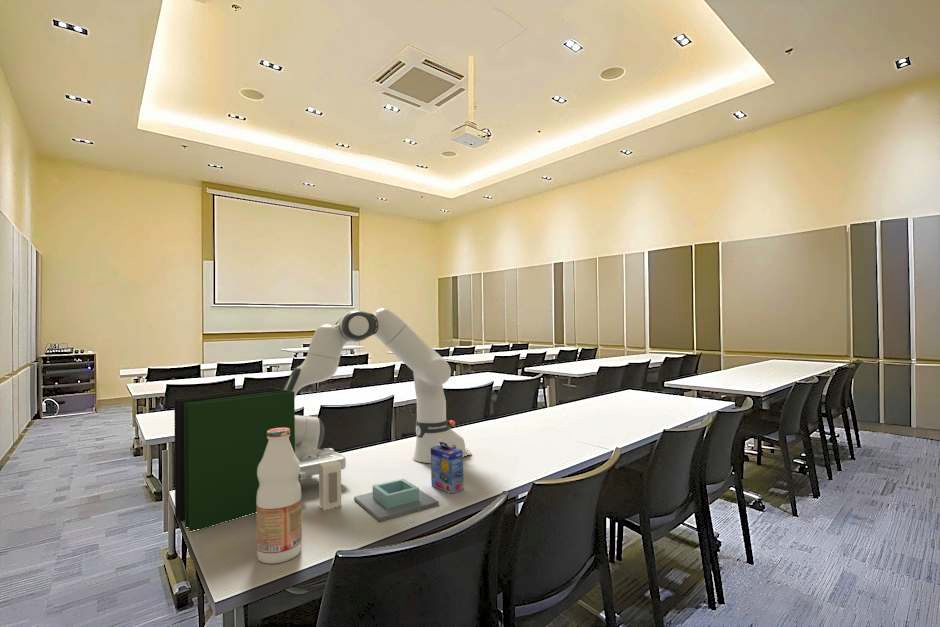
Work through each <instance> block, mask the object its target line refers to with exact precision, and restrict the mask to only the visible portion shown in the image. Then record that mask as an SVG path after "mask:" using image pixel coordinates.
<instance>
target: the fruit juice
mask: <svg viewBox="0 0 940 627" xmlns="http://www.w3.org/2000/svg"><path fill="white" fill-rule="evenodd" d="M289 436H290V429H289V428H274V429H270V430H268V431H267V439H268V443H267V446H266V449H265V452H264V455H263V458H262V460H261V462H260V463H259V465H258V468H257V477H258V481H259V488H258V490H257V497H256V510H257V513H256V557H257V560H258V561H259V562H260V563H263V564H270V565H271V564H273V565H275V564H280V563H285V562H287V561H290V560H292V559H294V558H295V557H297V556H298V555H299V554H300V553H301V550H302V545H303V544H302V541H303V540H302V537H303V532H302V530H303V529H302V487H301V484H300V481H299V479H298V477H299V473H300V462H299V460H298V458H297V457H296V455H295V453H294V451H293V448H292V446H291V443H290V441H289Z"/></svg>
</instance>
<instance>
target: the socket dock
mask: <svg viewBox="0 0 940 627" xmlns="http://www.w3.org/2000/svg"><path fill="white" fill-rule="evenodd" d="M353 500H354V501H355V502H356V501H357V502H358V503H359V504H360V505H361V506H360V505H359V504H358V503H357V502H356V503H357V504H358V505H359V506H360V507H362V508H363V510H365V509H366V510H367V511H368V513H369V515H371V516H372V517H373V518H374V519H376V520H377V521H378V522H383V521H386V520H387V521H388V520H390V519H394V518H398V517H401V516H404V515H407V514H412V513H415V512H419V511H422V510H426V509H429V508H434V507H437V506H439V504H440V502H439V501H438V500H437V499H435V498H434V497H432V496H431V495H429V494H428V493H425V492H424V491H422V490H421V489H420V487H419V486H416V485H415V484H413V483H412V482H410V481H408V480H407V479H405V478H400V479H395V480H391V481H386V482H383V483H382V482H381V483H377V484H374V485H372V491H371V492H367V493H364V494H358V495H356V496H354V497H353ZM366 510H365V511H366ZM367 511H366V512H367Z"/></svg>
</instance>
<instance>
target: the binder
mask: <svg viewBox="0 0 940 627" xmlns="http://www.w3.org/2000/svg"><path fill="white" fill-rule="evenodd" d="M173 401H174V410H173V411H174V519H178V522H179V523H182V522H184V526H185V527H184V529H185V528H186V527H189V528H188V530H189V531H193V530H197V529H201V530H203V529H202V528H204V529H206V528H205V527H208V528H210V527H209V526H211V527H213V526H212V525H214V526H217V525H216V524H218V525H220V524H219V523H221V522H224V523H226V522H225V521H228V522H230V521H229V520H231V521H233V520H232V519H235V520H237V519H236V518H238V519H240V518H239V517H241V518H243V517H242V516H245V515H248V516H250V515H249V514H251V515H253V514H252V513H255V512H257V510H256V497H257V490H258V488H259V481H258V477H257V468H258V465H259V463H260V462H261V460H262V458H263V455H264V452H265V449H266V446H267V443H268V439H267V431H268V430H270V429H274V428H289V429H290V436H289V441H290V443H291V446H292V448H293V451H294V453H295V415H296V414H295V413H296V411H295V408H296V407H295V399H294V391H289V390H282V388H278V387H274V386H273V387H266V388H256V389H247V390H239V391H233V392H224V393H216V394H215V393H214V394H207V395H199V396H192V397H191V396H190V397H183V398H182V397H181V398H175V399H173ZM255 514H256V513H255ZM245 517H246V516H245ZM184 520H185V521H184ZM221 524H222V523H221ZM197 531H198V530H197Z"/></svg>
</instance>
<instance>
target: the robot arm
mask: <svg viewBox="0 0 940 627" xmlns="http://www.w3.org/2000/svg"><path fill="white" fill-rule="evenodd" d="M372 336H373V337H375V338H377V339H378V340H380V342H381V343H382V344H383V345H384V346H385V347H386V348H388V349H389V351H390V352H392V354H394V356H396V358H398V359H399V360H400V361H401V362H402V363H403V364H404V365H406V366H407V367H408V368H409V369H410V370H411V371H412V373H413V382H414V391H415V397H416V421H415V435H416V441H415V448H414V453H413V457H412V458H413V460H414V461H416V462H419V463H426V464H427V463H428V464H431V448H432V447H435V446H439V445H440V443H439V442H443V443H447V445H448V446H450V447H452V448H456V449H460V450H462V454H463V457H464V456H467V455H470V454H471V455H472V451H471V450H470V449H468V448H467V447H466V442H465V440H464V438H463V437H462V436H461V435H460V434H458V432H456V431H454V430H453V429H452V428H451V427H455V425H456V422H455V420H452V419H450V420H449V419H447V401H446V400H447V399H446V396H445V392H444V387H443V385H444V384H445V383H447V382H448V381H449V380H450V377H451V374H452V369H451V366H450V365H449V363H448V361H447V360H445V358H443V357H442V356H441V355H440V354H439V352H437V351H436V350H435V349H434V348H433V347H431V346H430V345H429V344H428V343H427V342H425V341H424V340H423V339H422V338H421V337H420V336H419V335H418V334H417V333H416V332H415V331H414V330H413V329H412V328H411V327H410V326H409V325H408V324H407V323H406V322H405V321H404V320H403V319H402V318H401V317H400V316H398V314H396V313H395V312H393V311H392V310H390V309H389V308H386V307H381V308H378V309H376V310H375V311H374V312H372V313H370V312H366V311H363V310H352V311H351V310H349V311H348V312H346V313H345V314H344V315H342V317H341V318H339V320H338V321H337V322H336V323H334V325H333V324H323V325H322V324H321V325H320V326H318V327H317V328H316V330H314V334H313V336H312V338H311V340H310V343H309V344H310V345H309V347H308V349H307V350H308V351H307V354H306V357H305V359H304V360H303V362H302V363H300V365H298V366H296V367H294V368H293V370H292V372H291V373H290V375H289V377H288V379H287V380H286V383H285V385H284V387H283V390H289V391H294V400H295V399H296V396H297V394H298V392H299V391H300V390H301V389H302V388H304V387H307V386H309V385H313V384H316V383H321V382H325V381H328V380H329V379H330V378H333V377H334V375H335V374H336V372H337V370H338V367H339V364H340V360H341V355H342V351H343V348H344V347H345V344H347V343H348V342H353V343H356V342H357V343H358V342H360V341H361V342H362V341H364V340H366V339H368V338H370V337H372ZM283 390H282V391H283ZM324 437H325V426H324V423H323V422H322V420H321V419H320V418H319V417H318V416H311V415H310V416H309V415H299V414H298V415H297V414H295V455H296V457H297V458H298V460H299V462H300V473H299V477H298V480H307V478H311V477H313V476H316V475H319V463H324V462H329V461H335V460H337V461H338V462H339V463H341V471H342V470H344V469H346V467H347V466H346V465H347V460H346V457H345V456H344V455H343V454H342V453H340V452H337V451H335V450H334V449H335V448H332V447H329V448H321V447H322V444H323V442H324ZM442 445H444V444H442ZM471 455H470V456H471ZM467 457H468V456H467ZM464 458H465V457H464Z"/></svg>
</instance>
